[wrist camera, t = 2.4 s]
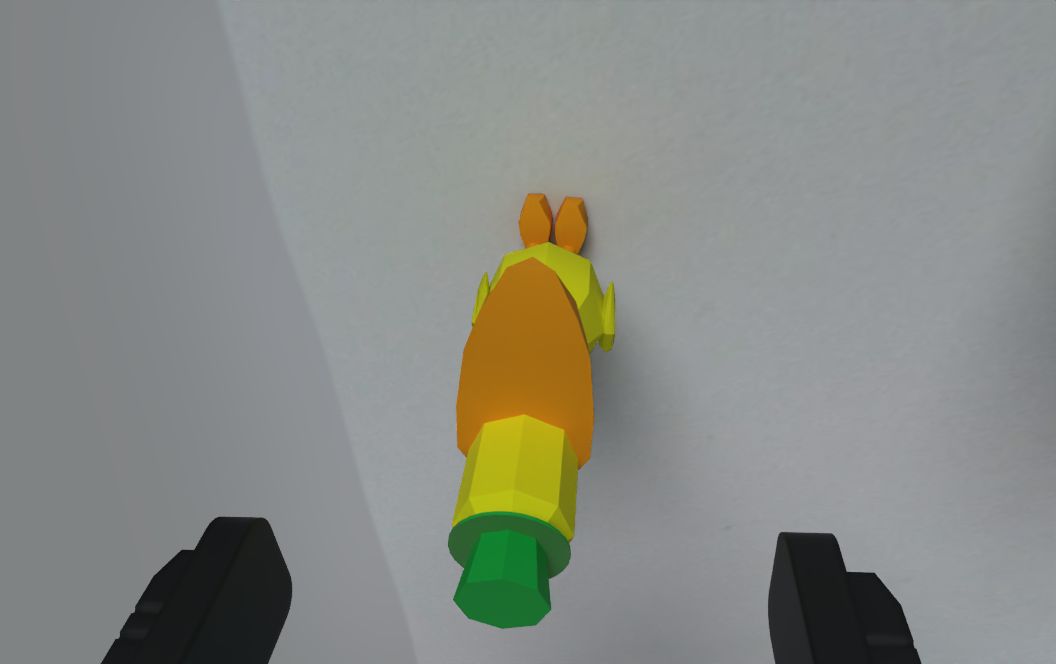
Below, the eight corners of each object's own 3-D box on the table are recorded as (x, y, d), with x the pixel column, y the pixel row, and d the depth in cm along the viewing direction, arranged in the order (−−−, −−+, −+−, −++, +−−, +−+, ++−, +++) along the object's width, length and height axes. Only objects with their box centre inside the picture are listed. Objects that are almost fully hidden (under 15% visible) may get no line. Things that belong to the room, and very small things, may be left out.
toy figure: (493, 99, 20) (373, 398, 10) (631, 107, 19) (647, 421, 10) (493, 314, 24) (406, 680, 14) (607, 323, 23) (602, 701, 14)
